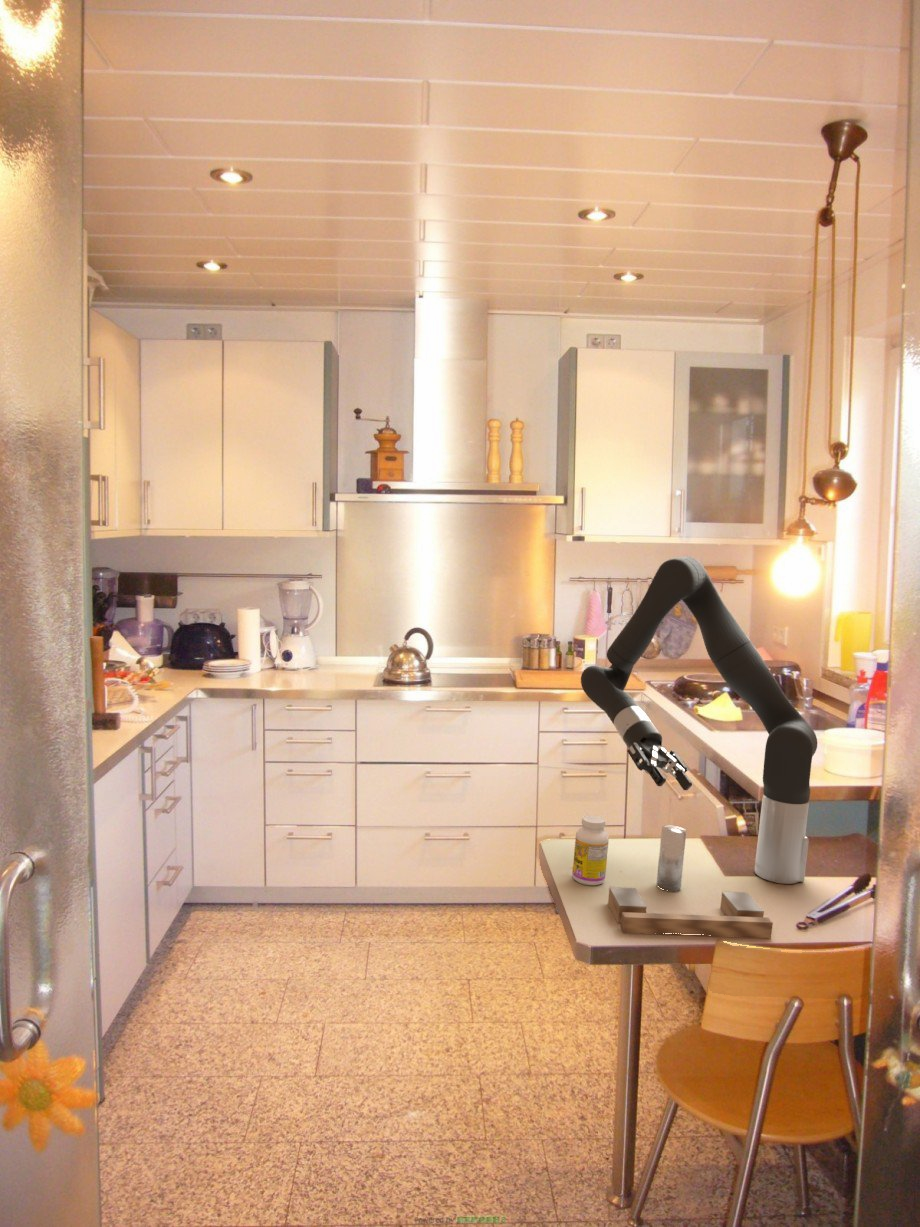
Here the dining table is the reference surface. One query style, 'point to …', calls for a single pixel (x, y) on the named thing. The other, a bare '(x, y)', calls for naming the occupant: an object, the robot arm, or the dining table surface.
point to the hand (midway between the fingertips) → (675, 785)
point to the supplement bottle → (591, 851)
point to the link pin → (671, 858)
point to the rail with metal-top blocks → (691, 917)
